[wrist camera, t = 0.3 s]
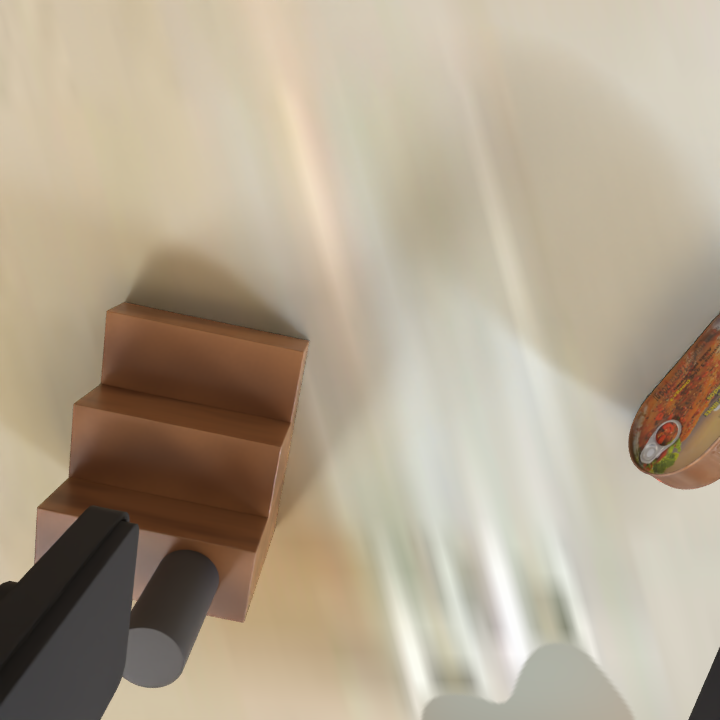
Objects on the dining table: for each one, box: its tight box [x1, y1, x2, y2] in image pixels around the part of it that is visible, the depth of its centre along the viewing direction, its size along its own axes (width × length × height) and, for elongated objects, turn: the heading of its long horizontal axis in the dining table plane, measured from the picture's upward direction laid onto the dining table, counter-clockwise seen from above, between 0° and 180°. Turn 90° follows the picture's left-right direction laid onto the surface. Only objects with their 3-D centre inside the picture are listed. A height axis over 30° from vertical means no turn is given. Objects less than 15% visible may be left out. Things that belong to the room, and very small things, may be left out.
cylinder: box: [122, 550, 219, 688], centre depth 37 cm, size 4×4×7 cm
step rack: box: [34, 302, 309, 623], centre depth 43 cm, size 16×14×11 cm
